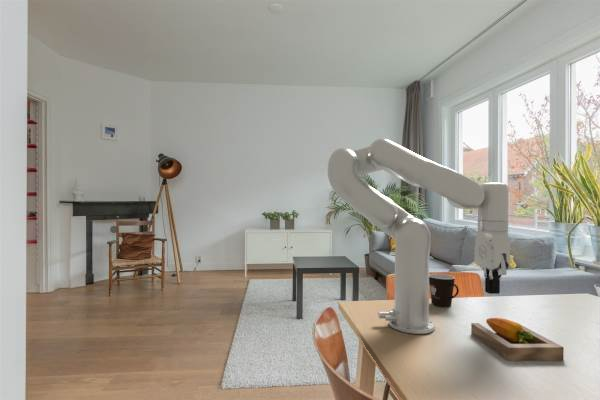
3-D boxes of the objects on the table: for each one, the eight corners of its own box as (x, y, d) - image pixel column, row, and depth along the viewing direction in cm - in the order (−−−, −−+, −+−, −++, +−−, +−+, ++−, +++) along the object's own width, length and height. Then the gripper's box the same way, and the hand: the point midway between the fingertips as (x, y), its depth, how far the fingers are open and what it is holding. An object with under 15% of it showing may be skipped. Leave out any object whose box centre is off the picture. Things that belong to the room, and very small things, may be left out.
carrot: (490, 331, 99) (536, 352, 85) (476, 325, 98) (520, 346, 84) (496, 315, 100) (542, 333, 85) (482, 309, 99) (526, 326, 84)
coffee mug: (425, 300, 127) (426, 273, 127) (450, 301, 126) (450, 274, 126) (433, 310, 116) (433, 280, 116) (460, 311, 114) (461, 281, 114)
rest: (508, 360, 79) (508, 347, 79) (471, 334, 95) (471, 323, 95) (563, 360, 80) (563, 347, 80) (517, 333, 95) (517, 322, 96)
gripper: (465, 225, 104) (465, 286, 104) (495, 229, 89) (495, 300, 89) (490, 225, 104) (489, 286, 104) (524, 229, 89) (523, 300, 89)
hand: (492, 292), depth 96 cm, fingers closed
